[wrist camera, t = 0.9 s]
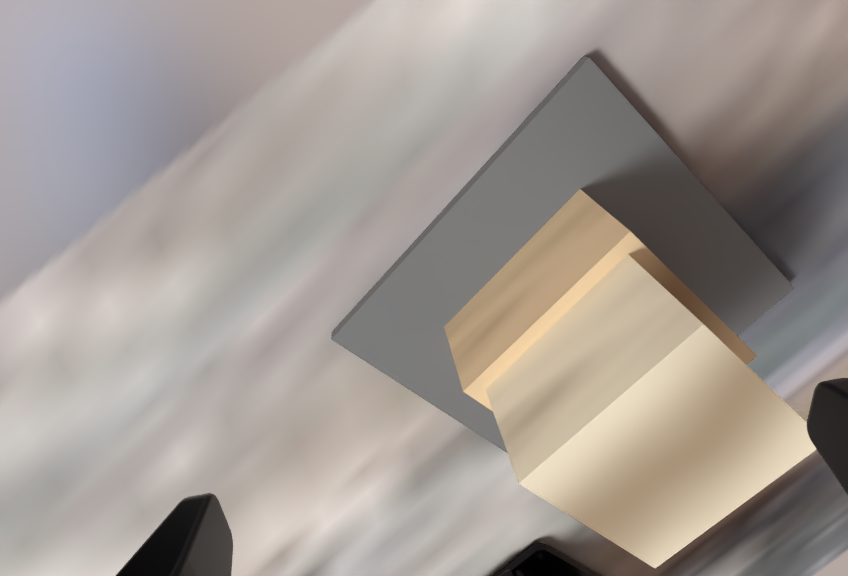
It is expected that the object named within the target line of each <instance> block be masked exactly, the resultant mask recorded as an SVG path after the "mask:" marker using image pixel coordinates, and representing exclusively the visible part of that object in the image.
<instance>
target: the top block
mask: <svg viewBox="0 0 848 576" xmlns="http://www.w3.org/2000/svg"><path fill="white" fill-rule="evenodd" d="M485 390H486V393H487V396H488V399H489V401H490V404H491V407H492V410H493V413H494V416H495V418H496V421H497V424H498V427H499V430H500V433H501V435H502V438H503V441H504V444H505V447H506V450H507V452H508V455H509V458H510V461H511V464H512V467H513V469H514V472H515V475H516V478H517V481H518V484H520V485H522V486H523V487H525V488H526V489H528V490H530V491H531V492H533V493H534V494H536V495H538V496H539V497H541V498H542V499H544V500H546V501H547V502H549V503H550V504H552V505H554V506H555V507H557V508H559V509H560V510H562V511H563V512H565V513H567V514H568V515H570V516H571V517H573V518H575V519H576V520H578V521H579V522H581V523H583V524H584V525H586V526H587V527H589V528H591V529H592V530H594V531H595V532H597V533H599V534H600V535H602V536H603V537H605V538H607V539H608V540H610V541H612V542H613V543H615V544H616V545H618V546H620V547H621V548H623V549H624V550H626V551H628V552H629V553H631V554H632V555H634V556H636V557H637V558H639V559H640V560H642V561H644V562H645V563H647V564H648V565H650V566H652V567H653V568H657V567H658V566H659V565H661V564H662V563H663V562H665V561H666V560H667V559H669V558H670V557H672V556H673V555H674V554H676V553H677V552H678V551H680V550H681V549H682V548H684V547H685V546H686V545H688V544H689V543H691V542H692V541H693V540H695V539H696V538H697V537H699V536H700V535H701V534H703V533H704V532H705V531H707V530H708V529H709V528H711V527H712V526H714V525H715V524H716V523H718V522H719V521H720V520H722V519H723V518H724V517H726V516H727V515H728V514H730V513H731V512H732V511H734V510H735V509H737V508H738V507H739V506H741V505H742V504H743V503H745V502H746V501H747V500H749V499H750V498H751V497H753V496H754V495H756V494H757V493H758V492H760V491H761V490H762V489H764V488H765V487H766V486H768V485H769V484H770V483H772V482H773V481H774V480H776V479H777V478H779V477H780V476H781V475H783V474H784V473H785V472H787V471H788V470H789V469H791V468H792V467H793V466H795V465H796V464H797V463H799V462H800V461H802V460H803V459H804V458H806V457H807V456H808V455H810V454H811V453H812V452H814V451H815V450H816V447H815V446H814V444H813V443H812V441H811V440H810V437H809V435H808V432H807V422H805V421H804V420H803V419H802V418H801V417H800V416H799V415H798V414H797V413H796V412H795V411H794V410H793V409H792V408H791V407H790V406H789V405H788V404H787V403H786V402H785V401H784V400H782V399H781V398H780V397H779V396H778V395H777V394H776V393H775V392H774V391H773V390H772V389H771V388H770V387H769V386H768V385H767V384H766V383H765V382H764V381H763V380H762V379H760V378H759V377H758V376H757V375H756V374H755V373H754V372H753V371H752V370H751V369H750V368H749V367H748V366H747V365H746V364H745V363H744V362H743V361H742V360H741V359H740V358H738V357H737V356H736V355H735V354H734V353H733V352H732V351H731V350H730V349H729V348H728V347H727V346H726V345H725V344H724V343H723V342H722V341H721V340H720V339H719V338H718V337H716V336H715V335H714V334H713V333H712V332H711V331H710V330H709V329H708V328H707V327H706V326H705V325H704V324H703V323H702V322H701V321H700V320H699V319H697V318H696V317H695V316H694V315H693V314H692V313H691V312H690V311H689V310H688V309H687V308H686V307H684V306H683V305H682V304H681V303H680V302H679V301H678V300H677V299H676V298H675V297H674V296H673V295H672V294H670V293H669V292H668V291H667V290H666V289H665V288H664V287H663V286H662V285H661V284H660V283H659V282H658V281H656V280H655V279H654V278H653V277H652V276H651V275H650V274H649V273H648V272H647V271H646V270H645V269H643V268H642V267H641V266H640V265H639V264H638V263H637V262H636V261H635V260H634V259H633V258H632V257H631V256H629V255H628V254H627V255H626V256H625V257H624V258H623V259H622V260H621V261H620V262H619V263H618V264H617V265H616V266H615V267H614V268H612V269H611V270H610V271H609V272H608V273H607V274H606V275H605V276H604V277H603V278H602V279H601V280H600V281H599V282H598V283H597V284H596V285H594V286H593V287H592V288H591V289H590V290H589V291H588V292H587V293H586V294H585V295H584V296H583V297H582V298H581V299H580V300H579V301H578V302H576V303H575V304H574V305H573V306H572V307H571V308H570V309H569V310H568V311H567V312H566V313H565V314H564V315H563V316H562V317H561V318H560V319H558V320H557V321H556V322H555V323H554V324H553V325H552V326H551V327H550V328H549V329H548V330H547V331H546V332H545V333H544V334H543V335H542V336H541V337H539V338H538V339H537V340H536V341H535V342H534V343H533V344H532V345H531V346H530V347H529V348H528V349H527V350H526V351H525V352H524V353H523V354H521V355H520V356H519V357H518V358H517V359H516V360H515V361H514V362H513V363H512V364H511V365H510V366H509V367H508V368H507V369H506V370H505V371H503V372H502V373H501V374H500V375H499V376H498V377H497V378H496V379H495V380H494V381H493V382H492V383H491V384H490V385H489V386H488V387H487V388H485Z"/></svg>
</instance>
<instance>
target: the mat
mask: <svg viewBox="0 0 848 576" xmlns="http://www.w3.org/2000/svg"><path fill="white" fill-rule="evenodd" d="M579 189H581V190H582V191H583V192H584V193H585V194H587V195H588V196H589V197H590V198H591V199H593V200H594V201H595V202H596V203H597V204H599V205H600V206H601V207H602V208H603V209H605V210H606V211H607V212H608V213H609V214H610V215H612V216H613V217H614V218H615V219H616V220H618V221H619V222H620V223H621V224H622V225H624V226H625V227H626V228H627V229H628V230H630V231H631V232H632V233H633V234H634V235H635V236H636V237H637V238H638V239H639V240H640V241H641V242H642V243H643V244H644V245H645V246H646V247H647V248H648V249H649V250H650V251H651V252H652V253H653V254H654V255H655V256H656V257H657V258H658V259H659V260H660V261H661V262H662V263H663V264H664V265H665V266H666V267H667V268H668V269H669V270H670V271H672V272H673V273H674V274H675V275H676V276H677V277H678V278H679V279H680V280H681V281H682V282H683V283H684V284H685V285H686V286H687V287H688V288H689V289H690V290H691V291H692V292H693V293H694V294H695V295H696V296H697V297H698V298H699V299H700V300H701V301H702V302H703V303H704V304H705V305H706V306H707V307H708V308H709V309H710V310H711V311H712V312H713V313H714V314H715V315H716V316H717V317H718V318H719V319H720V320H721V321H723V322H724V323H725V324H726V325H727V326H728V327H729V328H730V329H731V330H732V331H733V332H734V333H735V334H736V335H737V336H738V335H739V334H740V333H741V332H742V331H744V330H745V329H746V328H747V327H748V326H750V325H751V324H752V323H753V322H754V321H756V320H757V319H758V318H759V317H760V316H762V315H763V314H764V313H765V312H766V311H767V310H769V309H770V308H771V307H772V306H773V305H775V304H776V303H777V302H778V301H779V300H781V299H782V298H783V297H784V296H785V295H787V294H788V293H789V292H790V291H791V290H793V289H794V287H793V285H792V284H791V283H790V282H789V281H788V280H787V279H786V278H785V277H784V275H783V274H782V273H781V272H780V271H779V270H778V269H777V268H776V266H775V265H774V264H773V263H772V262H771V261H770V260H769V259H768V257H767V256H766V255H765V254H764V253H763V252H762V251H761V250H760V248H759V247H758V246H757V245H756V244H755V243H754V242H753V241H752V239H751V238H750V237H749V236H748V235H747V234H746V233H745V232H744V230H743V229H742V228H741V227H740V226H739V225H738V224H737V223H736V222H735V220H734V219H733V218H732V217H731V216H730V215H729V214H728V213H727V211H726V210H725V209H724V208H723V207H722V206H721V205H720V204H719V202H718V201H717V200H716V199H715V198H714V197H713V196H712V195H711V193H710V192H709V191H708V190H707V189H706V188H705V187H704V186H703V184H702V183H701V182H700V181H699V180H698V179H697V178H696V177H695V175H694V174H693V173H692V172H691V171H690V170H689V169H688V168H687V167H686V165H685V164H684V163H683V162H682V161H681V160H680V159H679V158H678V156H677V155H676V154H675V153H674V152H673V151H672V150H671V149H670V147H669V146H668V145H667V144H666V143H665V142H664V141H663V140H662V138H661V137H660V136H659V135H658V134H657V133H656V132H655V131H654V129H653V128H652V127H651V126H650V125H649V124H648V123H647V122H646V121H645V119H644V118H643V117H642V116H641V115H640V114H639V113H638V112H637V110H636V109H635V108H634V107H633V106H632V105H631V104H630V103H629V101H628V100H627V99H626V98H625V97H624V96H623V95H622V94H621V92H620V91H619V90H618V89H617V88H616V87H615V86H614V85H613V83H612V82H611V81H610V80H609V79H608V78H607V77H606V76H605V74H604V73H603V72H602V71H601V70H600V69H599V68H598V67H597V66H596V64H595V63H594V62H593V61H592V60H591V59H590V58H589V57H585V56H583V57H582V58H581V60H580V61H579V62H578V63H577V64H576V65H575V66H574V67H573V68H572V69H571V70H570V72H569V73H568V74H567V75H566V76H565V77H564V78H563V79H562V80H561V81H560V83H559V84H558V85H557V86H556V87H555V88H554V89H553V90H552V91H551V92H550V94H549V95H548V96H547V97H546V98H545V99H544V100H543V101H542V102H541V103H540V104H539V106H538V107H537V108H536V109H535V110H534V111H533V112H532V113H531V114H530V115H529V117H528V118H527V119H526V120H525V121H524V122H523V123H522V124H521V125H520V126H519V128H518V129H517V130H516V131H515V132H514V133H513V134H512V135H511V136H510V137H509V138H508V140H507V141H506V142H505V143H504V144H503V145H502V146H501V147H500V148H499V149H498V151H497V152H496V153H495V154H494V155H493V156H492V157H491V158H490V159H489V160H488V162H487V163H486V164H485V165H484V166H483V167H482V168H481V169H480V170H479V171H478V172H477V174H476V175H475V176H474V177H473V178H472V179H471V180H470V181H469V182H468V183H467V185H466V186H465V187H464V188H463V189H462V190H461V191H460V192H459V193H458V194H457V196H456V197H455V198H454V199H453V200H452V201H451V202H450V203H449V204H448V205H447V206H446V208H445V209H444V210H443V211H442V212H441V213H440V214H439V215H438V216H437V217H436V219H435V220H434V221H433V222H432V223H431V224H430V225H429V226H428V227H427V228H426V230H425V231H424V232H423V233H422V234H421V235H420V236H419V237H418V238H417V239H416V240H415V242H414V243H413V244H412V245H411V246H410V247H409V248H408V249H407V250H406V251H405V253H404V254H403V255H402V256H401V257H400V258H399V259H398V260H397V261H396V262H395V264H394V265H393V266H392V267H391V268H390V269H389V270H388V271H387V272H386V273H385V274H384V276H383V277H382V278H381V279H380V280H379V281H378V282H377V283H376V284H375V285H374V287H373V288H372V289H371V290H370V291H369V292H368V293H367V294H366V295H365V296H364V298H363V299H362V300H361V301H360V302H359V303H358V304H357V305H356V306H355V307H354V308H353V310H352V311H351V312H350V313H349V314H348V315H347V316H346V317H345V318H344V319H343V321H342V322H341V323H340V324H339V325H338V326H337V327H336V328H335V329H334V330H333V332H332V340H333V341H335V342H336V343H338V344H339V345H341V346H343V347H344V348H346V349H347V350H349V351H350V352H352V353H353V354H355V355H357V356H358V357H360V358H361V359H363V360H364V361H366V362H367V363H369V364H370V365H372V366H374V367H375V368H377V369H378V370H380V371H381V372H383V373H384V374H386V375H388V376H389V377H391V378H392V379H394V380H395V381H397V382H398V383H400V384H401V385H403V386H405V387H406V388H408V389H409V390H411V391H412V392H414V393H415V394H417V395H418V396H420V397H422V398H423V399H425V400H426V401H428V402H429V403H431V404H432V405H434V406H436V407H437V408H439V409H440V410H442V411H443V412H445V413H446V414H448V415H449V416H451V417H453V418H454V419H456V420H457V421H459V422H460V423H462V424H463V425H465V426H466V427H468V428H470V429H471V430H473V431H474V432H476V433H477V434H479V435H480V436H482V437H484V438H485V439H487V440H488V441H490V442H491V443H493V444H494V445H496V446H497V447H499V448H501V449H502V450H504V451H505V452H507V450H506V447H505V444H504V441H503V438H502V435H501V433H500V430H499V427H498V424H497V421H496V418H495V416H494V413H493V411H491V410H490V409H488V408H487V407H485V406H484V405H482V404H481V403H479V402H478V401H476V400H475V399H474V398H472V397H471V396H469V395H468V394H466V393H465V392H463V389H462V386H461V382H460V379H459V376H458V372H457V369H456V366H455V362H454V359H453V355H452V352H451V349H450V345H449V342H448V338H447V335H446V332H445V328H444V326H445V325H446V324H447V323H448V322H449V321H450V320H451V319H452V318H453V317H454V316H455V315H456V314H457V313H458V312H459V311H460V310H461V309H462V308H463V307H464V306H465V305H466V304H467V303H468V302H469V301H470V300H471V299H472V298H473V297H474V296H475V295H476V294H477V293H478V292H479V291H480V290H481V289H482V288H483V287H484V286H485V285H486V284H487V283H488V282H489V281H490V280H491V279H492V278H493V277H494V276H495V275H496V274H497V273H498V272H499V271H500V270H501V268H502V267H503V266H504V265H505V264H506V263H507V262H508V261H509V260H510V259H511V258H512V257H513V256H514V255H515V254H516V253H517V252H518V251H519V250H520V249H521V248H522V247H523V246H524V245H525V244H526V243H527V242H528V241H529V240H530V239H531V238H532V237H533V236H534V235H535V234H536V233H537V232H538V231H539V230H540V229H541V228H542V227H543V226H544V225H545V224H546V223H547V222H548V221H549V220H550V219H551V218H552V217H553V216H554V215H555V214H556V213H557V212H558V211H559V210H560V209H561V208H562V207H563V206H564V205H565V204H566V203H567V202H568V200H569V199H570V198H571V197H572V196H573V195H574V194H575V193H576V192H577V191H578V190H579ZM507 453H508V452H507Z"/></svg>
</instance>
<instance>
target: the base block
mask: <svg viewBox="0 0 848 576" xmlns="http://www.w3.org/2000/svg"><path fill="white" fill-rule="evenodd" d="M627 254H628V255H629V256H631V257H632V258H633V259H634V260H635V261H636V262H637V263H638V264H639V265H640V266H641V267H642V268H643V269H645V270H646V271H647V272H648V273H649V274H650V275H651V276H652V277H653V278H654V279H655V280H656V281H658V282H659V283H660V284H661V285H662V286H663V287H664V288H665V289H666V290H667V291H668V292H669V293H670V294H672V295H673V296H674V297H675V298H676V299H677V300H678V301H679V302H680V303H681V304H682V305H683V306H684V307H686V308H687V309H688V310H689V311H690V312H691V313H692V314H693V315H694V316H695V317H696V318H697V319H699V320H700V321H701V322H702V323H703V324H704V325H705V326H706V327H707V328H708V329H709V330H710V331H711V332H712V333H713V334H714V335H715V336H716V337H718V338H719V339H720V340H721V341H722V342H723V343H724V344H725V345H726V346H727V347H728V348H729V349H730V350H731V351H732V352H733V353H734V354H735V355H736V356H737V357H738V358H740V359H741V360H742V361H743V362H744V363H745V364H746V365H747V364H748V363H750V362H751V361H752V360H753V359H754V358H756V357H757V355H756V354H755V353H754V352H753V351H752V350H751V349H750V348H749V347H748V346H747V345H746V344H745V343H744V342H743V341H742V340H741V339H740V338H739V337H738V336H737V335H736V334H735V333H734V332H733V331H732V330H731V329H730V328H729V327H728V326H727V325H726V324H725V323H724V322H723V321H721V320H720V319H719V318H718V317H717V316H716V315H715V314H714V313H713V312H712V311H711V310H710V309H709V308H708V307H707V306H706V305H705V304H704V303H703V302H702V301H701V300H700V299H699V298H698V297H697V296H696V295H695V294H694V293H693V292H692V291H691V290H690V289H689V288H688V287H687V286H686V285H685V284H684V283H683V282H682V281H681V280H680V279H679V278H678V277H677V276H676V275H675V274H674V273H673V272H672V271H670V270H669V269H668V268H667V267H666V266H665V265H664V264H663V263H662V262H661V261H660V260H659V259H658V258H657V257H656V256H655V255H654V254H653V253H652V252H651V251H650V250H649V249H648V248H647V247H646V246H645V245H644V244H643V243H642V242H641V241H640V240H639V239H638V238H637V237H636V236H635V235H634V234H633V233H632V232H631V231H630V230H628V229H627V228H626V227H625V226H624V225H622V224H621V223H620V222H619V221H618V220H616V219H615V218H614V217H613V216H612V215H610V214H609V213H608V212H607V211H606V210H605V209H603V208H602V207H601V206H600V205H599V204H597V203H596V202H595V201H594V200H593V199H591V198H590V197H589V196H588V195H587V194H585V193H584V192H583V191H582V190H581V189H579V190H578V191H577V192H576V193H575V194H574V195H573V196H572V197H571V198H570V199H569V200H568V202H567V203H566V204H565V205H564V206H563V207H562V208H561V209H560V210H559V211H558V212H557V213H556V214H555V215H554V216H553V217H552V218H551V219H550V220H549V221H548V222H547V223H546V224H545V225H544V226H543V227H542V228H541V229H540V230H539V231H538V232H537V233H536V234H535V235H534V236H533V237H532V238H531V239H530V240H529V241H528V242H527V243H526V244H525V245H524V246H523V247H522V248H521V249H520V250H519V251H518V252H517V253H516V254H515V255H514V256H513V257H512V258H511V259H510V260H509V261H508V262H507V263H506V264H505V265H504V266H503V267H502V268H501V270H500V271H499V272H498V273H497V274H496V275H495V276H494V277H493V278H492V279H491V280H490V281H489V282H488V283H487V284H486V285H485V286H484V287H483V288H482V289H481V290H480V291H479V292H478V293H477V294H476V295H475V296H474V297H473V298H472V299H471V300H470V301H469V302H468V303H467V304H466V305H465V306H464V307H463V308H462V309H461V310H460V311H459V312H458V313H457V314H456V315H455V316H454V317H453V318H452V319H451V320H450V321H449V322H448V323H447V324H446V325H445V326H444V328H445V332H446V335H447V338H448V342H449V345H450V349H451V352H452V355H453V359H454V362H455V366H456V369H457V372H458V376H459V379H460V382H461V386H462V389H463V392H465V393H466V394H468V395H469V396H471V397H472V398H474V399H475V400H476V401H478V402H479V403H481V404H482V405H484V406H485V407H487V408H488V409H490V410H491V411H493V410H492V407H491V404H490V401H489V399H488V396H487V393H486V390H485V388H487V387H488V386H489V385H490V384H491V383H492V382H493V381H494V380H495V379H496V378H497V377H498V376H499V375H500V374H501V373H502V372H503V371H505V370H506V369H507V368H508V367H509V366H510V365H511V364H512V363H513V362H514V361H515V360H516V359H517V358H518V357H519V356H520V355H521V354H523V353H524V352H525V351H526V350H527V349H528V348H529V347H530V346H531V345H532V344H533V343H534V342H535V341H536V340H537V339H538V338H539V337H541V336H542V335H543V334H544V333H545V332H546V331H547V330H548V329H549V328H550V327H551V326H552V325H553V324H554V323H555V322H556V321H557V320H558V319H560V318H561V317H562V316H563V315H564V314H565V313H566V312H567V311H568V310H569V309H570V308H571V307H572V306H573V305H574V304H575V303H576V302H578V301H579V300H580V299H581V298H582V297H583V296H584V295H585V294H586V293H587V292H588V291H589V290H590V289H591V288H592V287H593V286H594V285H596V284H597V283H598V282H599V281H600V280H601V279H602V278H603V277H604V276H605V275H606V274H607V273H608V272H609V271H610V270H611V269H612V268H614V267H615V266H616V265H617V264H618V263H619V262H620V261H621V260H622V259H623V258H624V257H625V256H626V255H627Z"/></svg>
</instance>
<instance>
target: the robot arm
mask: <svg viewBox="0 0 848 576" xmlns="http://www.w3.org/2000/svg"><path fill="white" fill-rule="evenodd" d="M807 432H808V435H809V437H810V440H811V441H812V443H813V444H814V446H815V447H816V449H817V450H818V452H819V453H820V455H821V456H822V458H823V459H824V461H825V462H826V464H827V465H828V467H829V468H830V470H831V471H832V473H833V474H834V475H835V477H836V478H837V480H838V481H839V483H840V484H841V486H842V487H843V489H844V490H845V492H846V493H847V495H848V378H840V379H834V380H829V381H824V382H821V383H819V384H818V385H817V386H816V388H815V390H814V394H813V398H812V402H811V406H810V411H809V415H808V419H807ZM232 554H233V540H232V534H231V530H230V528H229V525H228V523H227V520H226V518H225V516H224V513H223V511H222V508H221V506H220V503H219V501H218V499H217V497H216V496H215V495H214V494H211V493H207V494H202V495H196V496H191V497H187V498H184V499H183V500H182V501H181V502H180V503H179V504H178V505H177V506H176V507H175V508H174V509H173V511H172V512H171V513H170V514H169V515H168V516H167V517H166V519H165V520H164V521H163V522H162V523H161V524H160V525H159V527H158V528H157V529H156V530H155V531H154V532H153V534H152V535H151V536H150V537H149V538H148V539H147V540H146V542H145V543H144V544H143V545H142V546H141V547H140V548H139V550H138V551H137V552H136V553H135V554H134V555H133V556H132V558H131V559H130V560H129V561H128V562H127V563H126V564H125V566H124V567H123V568H122V569H121V570H120V571H119V572H118V574H117V575H116V576H231V569H232ZM495 576H599V575H598V574H596V573H594V572H592V571H591V570H589V569H587V568H585V567H584V566H582V565H580V564H579V563H577V562H575V561H573V560H572V559H570V558H568V557H566V556H565V555H563V554H561V553H559V552H558V551H556V550H554V549H553V548H551V547H549V546H547V545H546V544H543V543H537V544H534V545H532V546H531V547H529V548H528V549H527V550H526V551H524V552H523V553H522V554H521V555H519V556H518V557H517V558H516V559H515V560H513V561H512V562H511V563H510V564H508V565H507V566H506V567H505V568H503V569H502V570H501V571H500V572H499V573H497V574H496V575H495Z"/></svg>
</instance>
